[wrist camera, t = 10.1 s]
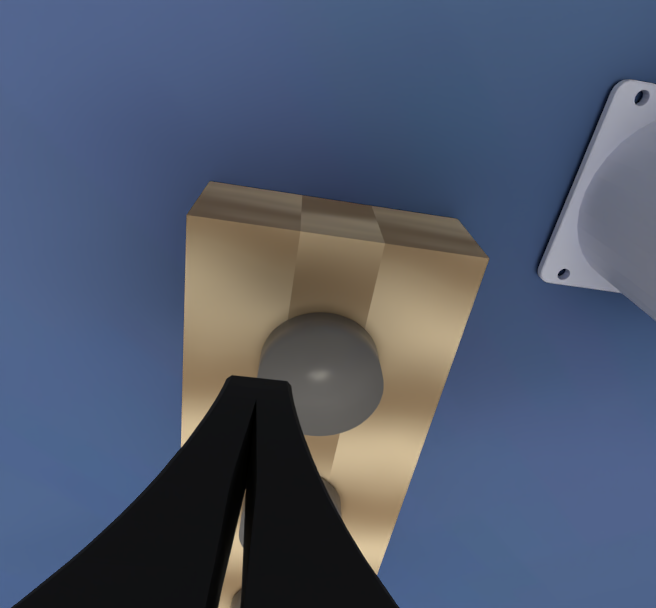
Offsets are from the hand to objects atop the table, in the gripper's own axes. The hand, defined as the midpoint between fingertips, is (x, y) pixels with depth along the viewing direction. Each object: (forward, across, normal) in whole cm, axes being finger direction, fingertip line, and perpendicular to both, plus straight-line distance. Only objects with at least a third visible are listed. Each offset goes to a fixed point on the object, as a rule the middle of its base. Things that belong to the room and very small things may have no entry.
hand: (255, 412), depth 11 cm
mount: (+10, -2, +11) cm, 15 cm away
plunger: (+10, -2, +3) cm, 11 cm away
